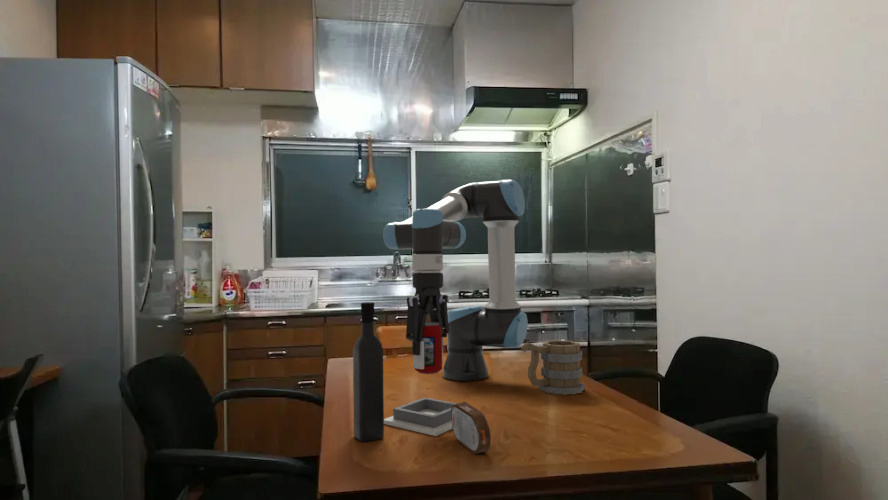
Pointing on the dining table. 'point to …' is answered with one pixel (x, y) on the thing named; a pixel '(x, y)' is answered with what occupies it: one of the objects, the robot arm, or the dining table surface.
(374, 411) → the wine bottle
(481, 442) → the tin
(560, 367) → the tankard
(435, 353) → the beverage can
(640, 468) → the dining table surface
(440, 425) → the tray
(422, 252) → the robot arm
